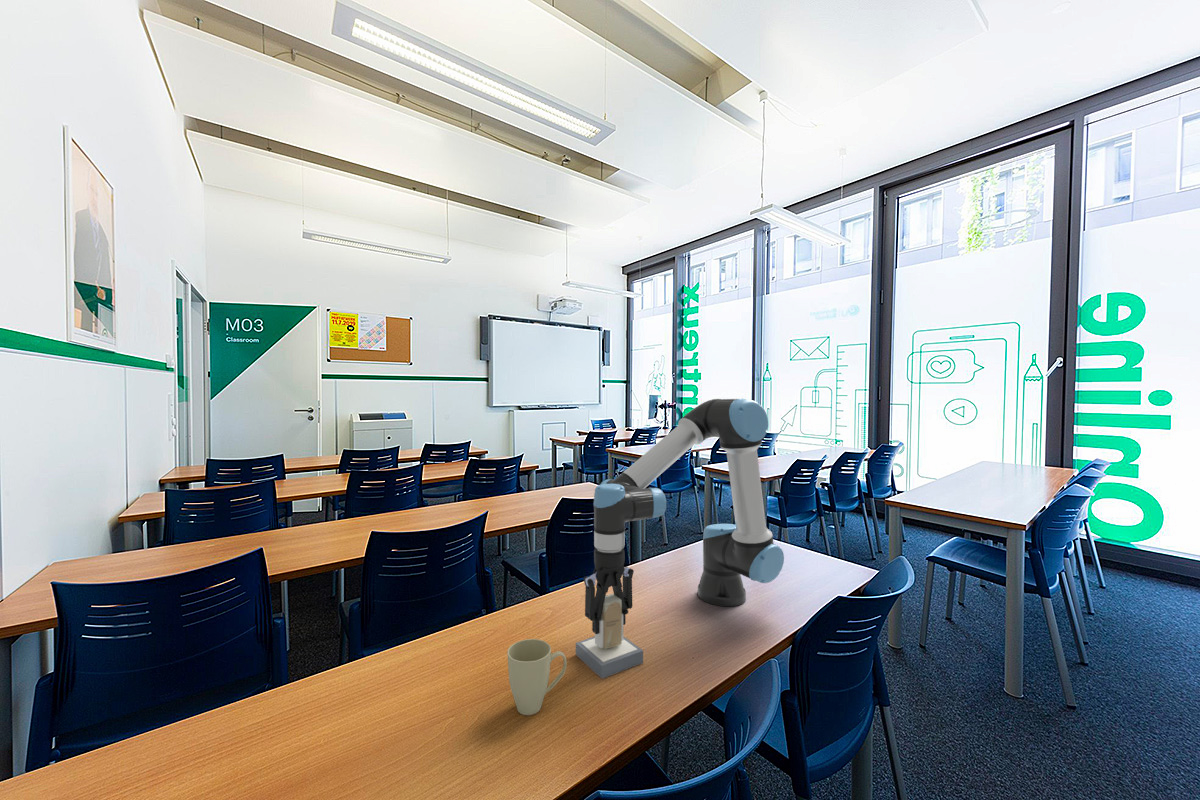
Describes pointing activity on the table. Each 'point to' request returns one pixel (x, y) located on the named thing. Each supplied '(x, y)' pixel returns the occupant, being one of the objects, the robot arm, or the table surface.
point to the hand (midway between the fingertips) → (609, 641)
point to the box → (612, 621)
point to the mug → (531, 673)
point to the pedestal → (609, 656)
